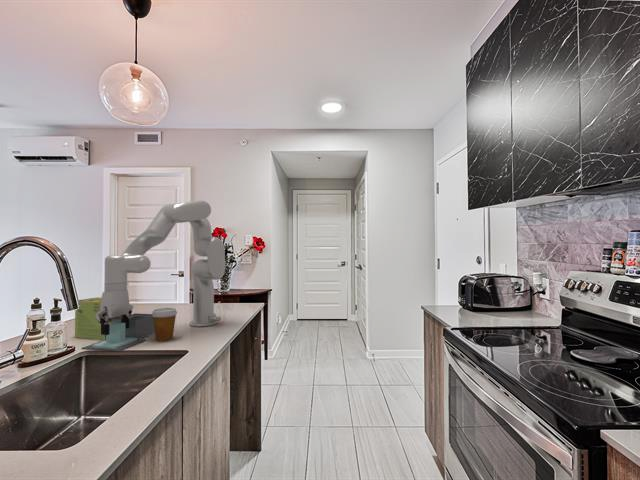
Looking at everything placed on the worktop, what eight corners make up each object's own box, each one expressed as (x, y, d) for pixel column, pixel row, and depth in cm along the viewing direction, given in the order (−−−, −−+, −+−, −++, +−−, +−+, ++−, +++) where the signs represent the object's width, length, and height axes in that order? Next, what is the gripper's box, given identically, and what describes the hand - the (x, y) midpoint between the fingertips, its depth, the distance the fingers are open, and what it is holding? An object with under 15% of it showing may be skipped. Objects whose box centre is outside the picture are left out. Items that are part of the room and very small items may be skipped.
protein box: (105, 340, 134) (105, 302, 134) (74, 338, 137) (74, 300, 137) (125, 333, 144) (126, 297, 144) (95, 331, 147) (96, 296, 147)
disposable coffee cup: (182, 337, 137) (182, 308, 137) (162, 344, 129) (162, 313, 129) (165, 335, 141) (166, 307, 141) (145, 340, 133) (146, 311, 133)
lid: (137, 339, 132) (137, 320, 133) (114, 348, 121) (114, 327, 121) (116, 338, 134) (116, 319, 134) (92, 347, 123) (92, 326, 123)
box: (156, 331, 146) (157, 314, 146) (135, 340, 133) (135, 321, 133) (135, 330, 148) (135, 313, 148) (111, 338, 135) (112, 319, 135)
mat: (146, 340, 133) (146, 339, 133) (119, 351, 119) (119, 350, 119) (111, 338, 136) (111, 337, 136) (81, 348, 122) (81, 347, 122)
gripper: (124, 284, 137) (124, 325, 137) (88, 290, 120) (87, 337, 120) (140, 284, 136) (139, 326, 136) (106, 290, 119) (105, 338, 118)
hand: (115, 331), depth 128 cm, fingers open, 9 cm apart
